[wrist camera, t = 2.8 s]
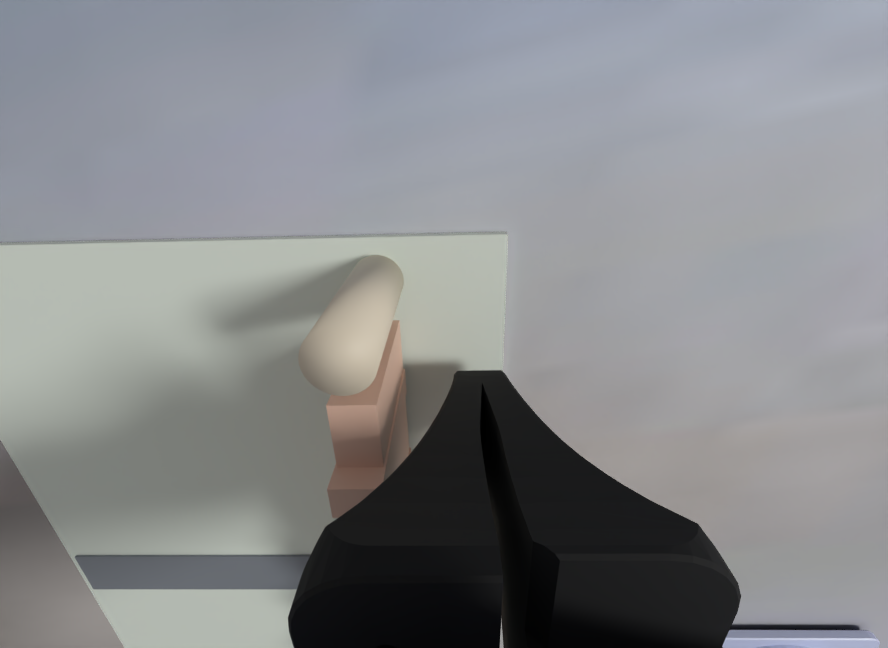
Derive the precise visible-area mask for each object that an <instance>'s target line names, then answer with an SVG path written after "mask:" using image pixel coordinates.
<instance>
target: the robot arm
mask: <svg viewBox="0 0 888 648" xmlns="http://www.w3.org/2000/svg"><path fill="white" fill-rule="evenodd" d="M740 599H741V594H740V590H739V586H738V582H737V581H736V579H735V578H734V576H733V574H732V573H731V571H730V570H729V568H728V566H727V565H726V563H725V561H724V560H723V558H722V557H721V555H720V554H719V552H718V551H717V549H716V548H715V546H714V545H713V544H712V542H711V541H710V540H709V538H708V537H707V536H706V534H705V533H704V532H703V530H702V529H701V527H700V526H699V525H698V524H697V523H695V522H693V521H691V520H689V519H687V518H685V517H683V516H681V515H679V514H677V513H675V512H672V511H670V510H668V509H666V508H664V507H662V506H660V505H658V504H656V503H654V502H652V501H650V500H649V499H647V498H645V497H643V496H642V495H640V494H638V493H636V492H635V491H633V490H631V489H629V488H628V487H626V486H624V485H623V484H621V483H619V482H618V481H616V480H615V479H613V478H611V477H610V476H608V475H607V474H605V473H604V472H603V471H601V470H600V469H598V468H597V467H595V466H594V465H593V464H591V463H590V462H588V461H587V460H586V459H584V458H583V457H582V456H580V455H579V454H578V453H576V452H575V451H574V450H573V449H572V448H571V447H569V446H568V445H567V444H566V443H565V442H563V441H562V440H561V439H560V438H559V437H558V436H557V435H556V434H555V433H554V432H553V431H552V430H551V429H550V428H549V427H548V426H547V425H546V424H545V423H544V422H543V421H542V420H541V419H540V418H539V417H538V416H537V415H536V414H535V412H534V411H533V410H532V409H531V408H530V407H529V405H528V404H527V403H526V402H525V401H524V399H523V398H522V397H521V396H520V394H519V393H518V392H517V390H516V389H515V388H514V386H513V385H512V384H511V382H510V381H509V379H508V378H507V376H506V375H505V373H504V372H503V371H502V370H471V371H457V372H456V373H455V374H454V378H453V382H452V385H451V388H450V390H449V392H448V395H447V397H446V399H445V401H444V403H443V405H442V407H441V409H440V411H439V413H438V414H437V416H436V418H435V419H434V421H433V422H432V424H431V426H430V427H429V429H428V430H427V432H426V433H425V435H424V436H423V438H422V439H421V440H420V442H419V443H418V444H417V446H416V447H415V448H414V449H413V451H412V452H411V453H410V454H409V456H408V457H407V458H406V459H405V460H404V461H403V462H402V463H401V464H400V466H399V467H398V468H397V469H396V470H395V471H394V472H393V473H392V474H391V475H390V476H389V477H388V478H387V479H386V480H385V481H384V482H382V483H381V484H380V485H379V486H378V487H377V488H376V489H375V490H373V491H372V492H371V493H370V494H369V495H368V496H367V497H366V498H364V499H363V500H362V501H361V502H360V503H358V504H357V505H356V506H354V507H353V508H351V509H350V510H349V511H347V512H346V513H344V514H343V515H342V516H340V517H339V518H337V519H336V520H335V521H333V522H331V523H330V524H328V525H327V526H326V527H325V528H324V530H323V532H322V533H321V535H320V537H319V539H318V541H317V543H316V545H315V547H314V549H313V551H312V553H311V555H310V557H309V559H308V561H307V563H306V566H305V568H304V570H303V573H302V575H301V578H300V581H299V584H298V587H297V590H296V594H295V597H294V600H293V603H292V606H291V609H290V612H289V615H288V627H289V634H290V637H291V640H292V644H293V647H294V648H499V646H500V628H501V618H502V630H503V644H504V648H878V647H879V644H880V642H879V640H878V639H877V638H876V636H875V635H874V634H873V633H872V632H870V631H867V630H730V627H731V625H732V623H733V621H734V618H735V616H736V614H737V611H738V608H739V603H740Z"/></svg>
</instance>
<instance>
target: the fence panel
mask: <svg viewBox="0 0 888 648" xmlns="http://www.w3.org/2000/svg"><path fill="white" fill-rule="evenodd" d="M403 285H404V278H403V274H402V271H401V269H400V268H399V266H398V265H397V264H396V263H395V262H394V261H393V260H391V259H390V258H387V257H385V256H381V255H371V256H367V257H365V258H363V259H362V260H360V261H359V262H358V263H357V264H356V266H355V267H354V269H353V270H352V271H351V273H350V274H349V276H348V277H347V279H346V280H345V282H344V283H343V285H342V286H341V287H340V289H339V290H338V292H337V293H336V295H335V296H334V298H333V299H332V300H331V302H330V303H329V305H328V306H327V308H326V309H325V311H324V312H323V313H322V315H321V316H320V318H319V319H318V321H317V322H316V324H315V325H314V326H313V328H312V329H311V331H310V332H309V334H308V335H307V337H306V338H305V340H304V341H303V343H302V344H301V346H300V349H299V354H298V361H299V366H300V369H301V371H302V373H303V375H304V377H305V378H306V379H307V380H308V381H309V382H310V383H311V384H312V385H313V386H314V387H316V388H317V389H319V390H321V391H323V392H325V393H328V394H331V396H330V398H329V400H328V402H327V405H326V409H327V414H328V420H329V426H330V431H331V437H332V443H333V448H334V454H335V460H336V465H335V468H334V471H333V473H332V476H331V479H330V482H329V485H328V488H327V492H328V497H329V503H330V508H331V513H332V518H339V517H340V516H342V515H343V514H344V513H346V512H347V511H349V510H350V509H351V508H353V507H354V506H356V505H357V504H358V503H360V502H361V501H362V500H363V499H364V498H366V497H367V496H368V495H369V494H370V493H371V492H372V491H373V490H375V489H376V488H377V487H378V486H379V485H380V484H381V483H382V482H384V481H385V480H386V479H387V478H388V477H389V476H390V475H391V474H392V473H393V472H394V471H395V470H396V469H397V468H398V467H399V466H400V464H401V463H402V462H403V461H404V460H405V459H406V458H407V457H408V456H409V454H410V453H411V448H409V436H408V424H407V411H406V392H407V390H406V376H405V369H403V359H402V346H401V333H400V321H399V320H393V319H394V315H395V312H396V309H397V305H398V302H399V299H400V295H401V292H402V289H403Z"/></svg>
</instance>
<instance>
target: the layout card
mask: <svg viewBox="0 0 888 648" xmlns="http://www.w3.org/2000/svg"><path fill="white" fill-rule="evenodd" d="M507 249H508V233H507V232H472V233H426V234H381V235H335V236H289V237H244V238H198V239H153V240H107V241H61V242H16V243H0V440H1V442H2V443H3V445H4V447H5V448H6V450H7V452H8V453H9V455H10V457H11V458H12V460H13V462H14V463H15V465H16V467H17V468H18V470H19V472H20V473H21V475H22V477H23V479H24V480H25V482H26V484H27V485H28V487H29V489H30V490H31V492H32V494H33V495H34V497H35V499H36V500H37V502H38V504H39V505H40V507H41V509H42V510H43V512H44V514H45V515H46V517H47V519H48V520H49V522H50V524H51V525H52V527H53V529H54V530H55V532H56V534H57V535H58V537H59V539H60V540H61V542H62V544H63V545H64V547H65V549H66V550H67V552H68V554H69V555H70V557H71V559H72V561H73V562H74V564H75V566H76V567H77V569H78V571H79V572H80V574H81V576H82V577H83V579H84V581H85V582H86V584H87V586H88V587H89V589H90V591H91V592H92V594H93V596H94V597H95V599H96V601H97V602H98V604H99V606H100V607H101V609H102V611H103V612H104V614H105V616H106V617H107V619H108V621H109V622H110V624H111V626H112V627H113V629H114V631H115V632H116V634H117V636H118V637H119V639H120V641H121V643H122V644H123V646H124V648H294V647H293V644H292V640H291V637H290V634H289V627H288V615H289V612H290V609H291V606H292V603H293V600H294V597H295V594H296V590H297V587H298V584H299V581H300V578H301V575H302V573H303V570H304V568H305V566H306V563H307V561H308V559H309V557H310V555H311V553H312V551H313V549H314V547H315V545H316V543H317V541H318V539H319V537H320V535H321V533H322V532H323V530H324V528H325V527H326V526H327V525H328V524H330V523H331V522H333V521H335V520H336V519H337V518H332V513H331V508H330V503H329V497H328V492H327V488H328V485H329V482H330V479H331V476H332V473H333V471H334V468H335V465H336V460H335V454H334V448H333V443H332V437H331V431H330V426H329V420H328V414H327V409H326V405H327V402H328V400H329V398H330V396H331V394H328V393H325V392H323V391H321V390H319V389H317V388H316V387H314V386H313V385H312V384H311V383H310V382H309V381H308V380H307V379H306V378H305V377H304V375H303V373H302V371H301V369H300V366H299V361H298V354H299V349H300V346H301V344H302V343H303V341H304V340H305V338H306V337H307V335H308V334H309V332H310V331H311V329H312V328H313V326H314V325H315V324H316V322H317V321H318V319H319V318H320V316H321V315H322V313H323V312H324V311H325V309H326V308H327V306H328V305H329V303H330V302H331V300H332V299H333V298H334V296H335V295H336V293H337V292H338V290H339V289H340V287H341V286H342V285H343V283H344V282H345V280H346V279H347V277H348V276H349V274H350V273H351V271H352V270H353V269H354V267H355V266H356V264H357V263H358V262H359V261H360V260H362V259H363V258H365V257H367V256H371V255H381V256H385V257H387V258H390V259H391V260H393V261H394V262H395V263H396V264H397V265H398V266H399V268H400V269H401V271H402V274H403V278H404V285H403V289H402V292H401V295H400V299H399V302H398V305H397V309H396V312H395V315H394V319H393V320H399V321H400V333H401V346H402V359H403V369H405V376H406V390H407V392H406V411H407V424H408V436H409V448H411V452H412V451H413V449H414V448H415V447H416V446H417V444H418V443H419V442H420V440H421V439H422V438H423V436H424V435H425V433H426V432H427V430H428V429H429V427H430V426H431V424H432V422H433V421H434V419H435V418H436V416H437V414H438V413H439V411H440V409H441V407H442V405H443V403H444V401H445V399H446V397H447V395H448V392H449V390H450V388H451V385H452V382H453V378H454V374H455V373H456V372H457V371H471V370H502V371H503V353H504V327H505V301H506V275H507Z"/></svg>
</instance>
